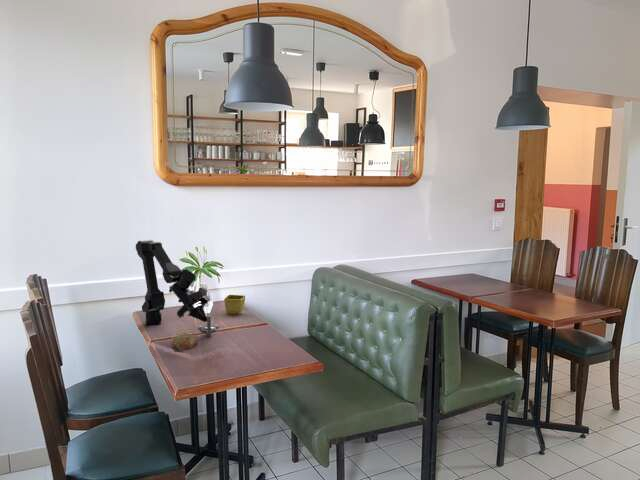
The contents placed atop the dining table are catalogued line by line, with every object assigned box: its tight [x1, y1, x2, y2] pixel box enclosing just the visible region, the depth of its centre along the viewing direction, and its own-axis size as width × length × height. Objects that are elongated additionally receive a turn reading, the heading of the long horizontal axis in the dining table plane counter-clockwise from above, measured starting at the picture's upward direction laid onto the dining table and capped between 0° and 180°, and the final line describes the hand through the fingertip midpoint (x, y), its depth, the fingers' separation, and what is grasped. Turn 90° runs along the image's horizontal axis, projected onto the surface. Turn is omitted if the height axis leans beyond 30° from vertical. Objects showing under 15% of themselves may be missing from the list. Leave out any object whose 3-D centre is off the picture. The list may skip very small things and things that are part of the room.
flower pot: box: [223, 294, 246, 315], centre depth 252 cm, size 9×9×9 cm
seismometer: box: [198, 312, 220, 338], centre depth 223 cm, size 19×9×9 cm, turn 13°
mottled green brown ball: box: [171, 333, 198, 353], centre depth 203 cm, size 10×10×8 cm
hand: (206, 321), depth 216 cm, fingers closed
